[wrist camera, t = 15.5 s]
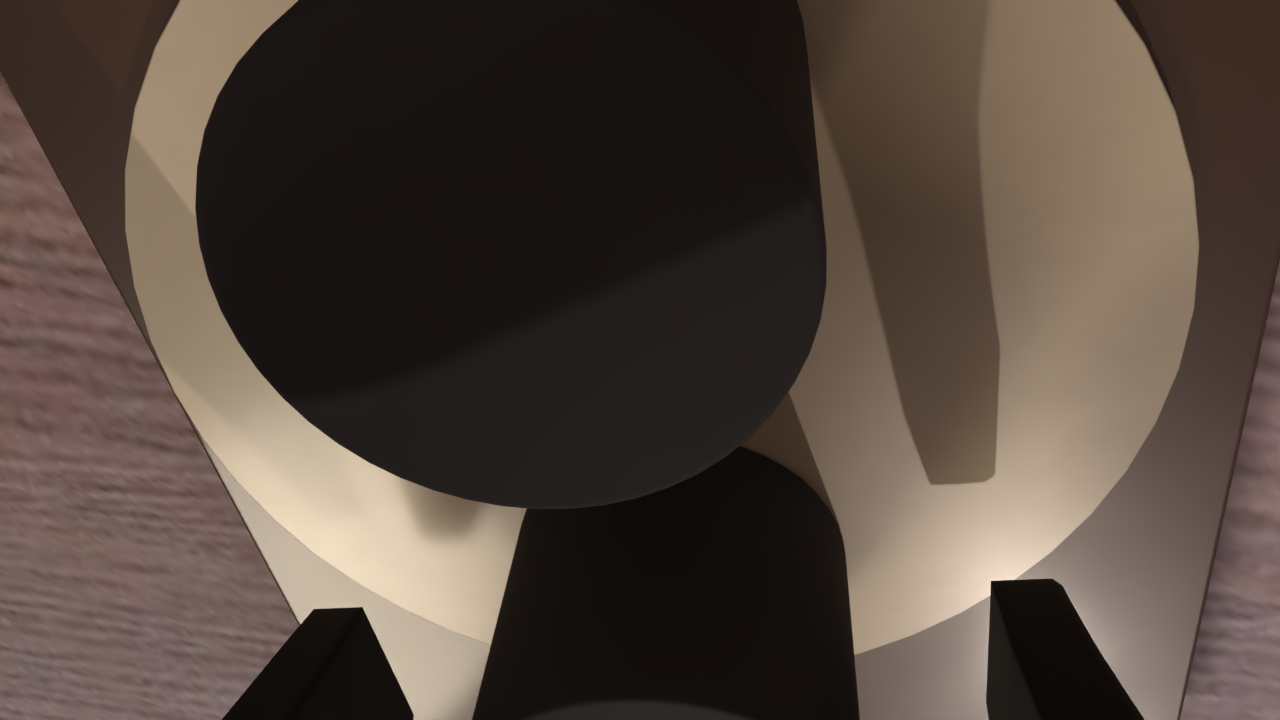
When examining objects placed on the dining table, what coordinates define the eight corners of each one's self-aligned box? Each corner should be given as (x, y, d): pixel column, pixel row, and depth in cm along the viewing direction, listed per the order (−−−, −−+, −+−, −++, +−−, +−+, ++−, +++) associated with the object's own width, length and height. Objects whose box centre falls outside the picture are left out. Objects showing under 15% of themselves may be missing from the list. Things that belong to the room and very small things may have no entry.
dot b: (557, 664, 14) (509, 923, 12) (484, 445, 12) (403, 702, 9) (853, 654, 14) (875, 928, 11) (835, 421, 11) (860, 692, 9)
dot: (431, 284, 11) (319, 528, 8) (295, -128, 9) (72, 16, 6) (820, 246, 10) (845, 498, 7) (787, -212, 8) (802, -95, 5)
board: (390, 730, 18) (373, 785, 17) (-217, -470, 8) (-321, -476, 8) (1155, 715, 16) (1176, 777, 15) (1469, -900, 6) (1570, -969, 6)
